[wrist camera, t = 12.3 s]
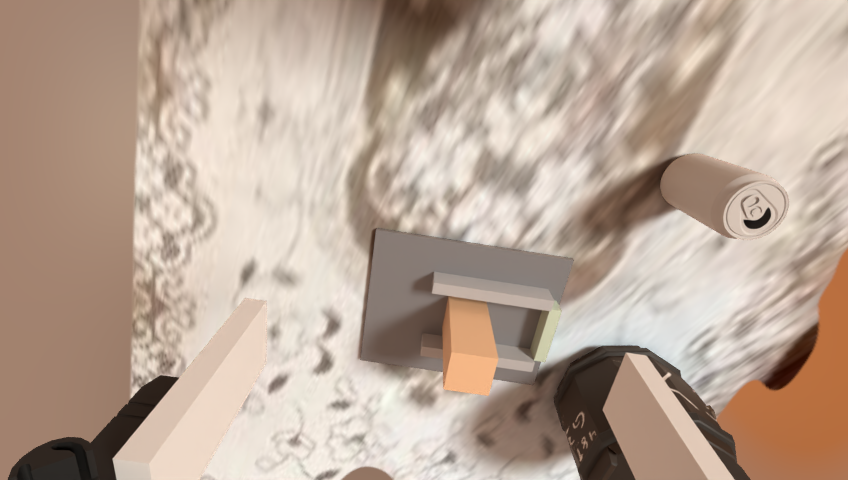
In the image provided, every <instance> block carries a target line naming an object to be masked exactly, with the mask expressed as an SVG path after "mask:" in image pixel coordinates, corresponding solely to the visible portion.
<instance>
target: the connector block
mask: <svg viewBox="0 0 848 480" xmlns="http://www.w3.org/2000/svg"><path fill="white" fill-rule="evenodd" d="M442 336H443V388H444V389H445V390H452V391H459V392H466V393H473V394H480V395H487V396H488V395H489V392H490V388H491V385H492V381H493V377H494V374H495V370H496V366H497V363H498V354H497V349H496V345H495V340H494V335H493V330H492V326H491V321H490V316H489V311H488V306H487V302H486V301H479V300H472V299H466V298H459V297H452V296H448V301H447V306H446V311H445V316H444V321H443V326H442Z"/></svg>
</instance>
